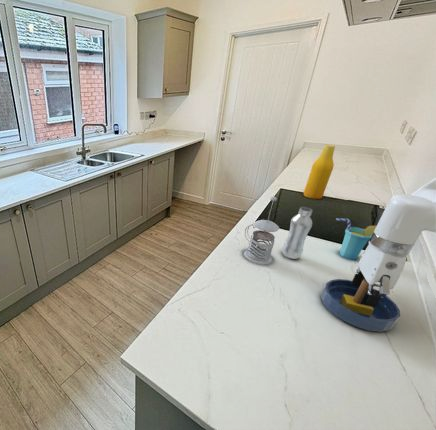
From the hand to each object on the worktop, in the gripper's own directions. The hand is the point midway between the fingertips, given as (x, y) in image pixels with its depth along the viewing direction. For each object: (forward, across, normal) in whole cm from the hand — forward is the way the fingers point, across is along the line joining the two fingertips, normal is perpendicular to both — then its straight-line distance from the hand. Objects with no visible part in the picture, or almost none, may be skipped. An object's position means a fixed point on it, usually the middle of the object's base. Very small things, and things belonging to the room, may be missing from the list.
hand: (362, 294), depth 74 cm
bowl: (+6, 0, 0) cm, 6 cm away
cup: (+6, +32, -5) cm, 33 cm away
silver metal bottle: (+6, +23, +14) cm, 28 cm away
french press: (+6, +18, +26) cm, 32 cm away
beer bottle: (+6, +95, -4) cm, 95 cm away
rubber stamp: (+5, 0, 0) cm, 5 cm away
